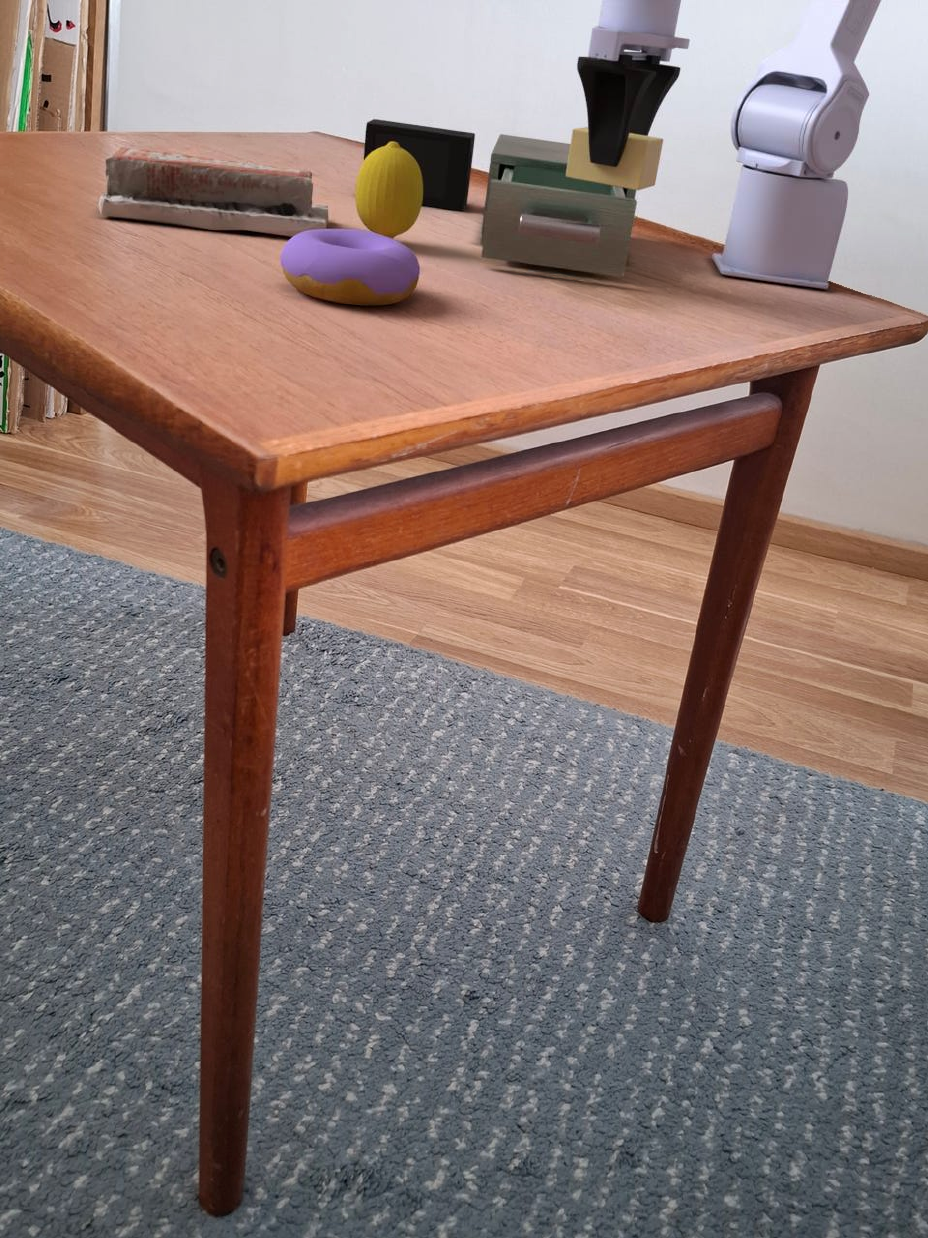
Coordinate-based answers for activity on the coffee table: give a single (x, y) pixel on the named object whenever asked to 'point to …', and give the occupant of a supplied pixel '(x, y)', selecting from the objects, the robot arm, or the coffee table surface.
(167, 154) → the weathered stone block
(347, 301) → the donut
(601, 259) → the drawer
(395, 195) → the lemon
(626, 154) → the block
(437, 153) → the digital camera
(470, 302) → the coffee table surface
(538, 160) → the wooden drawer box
